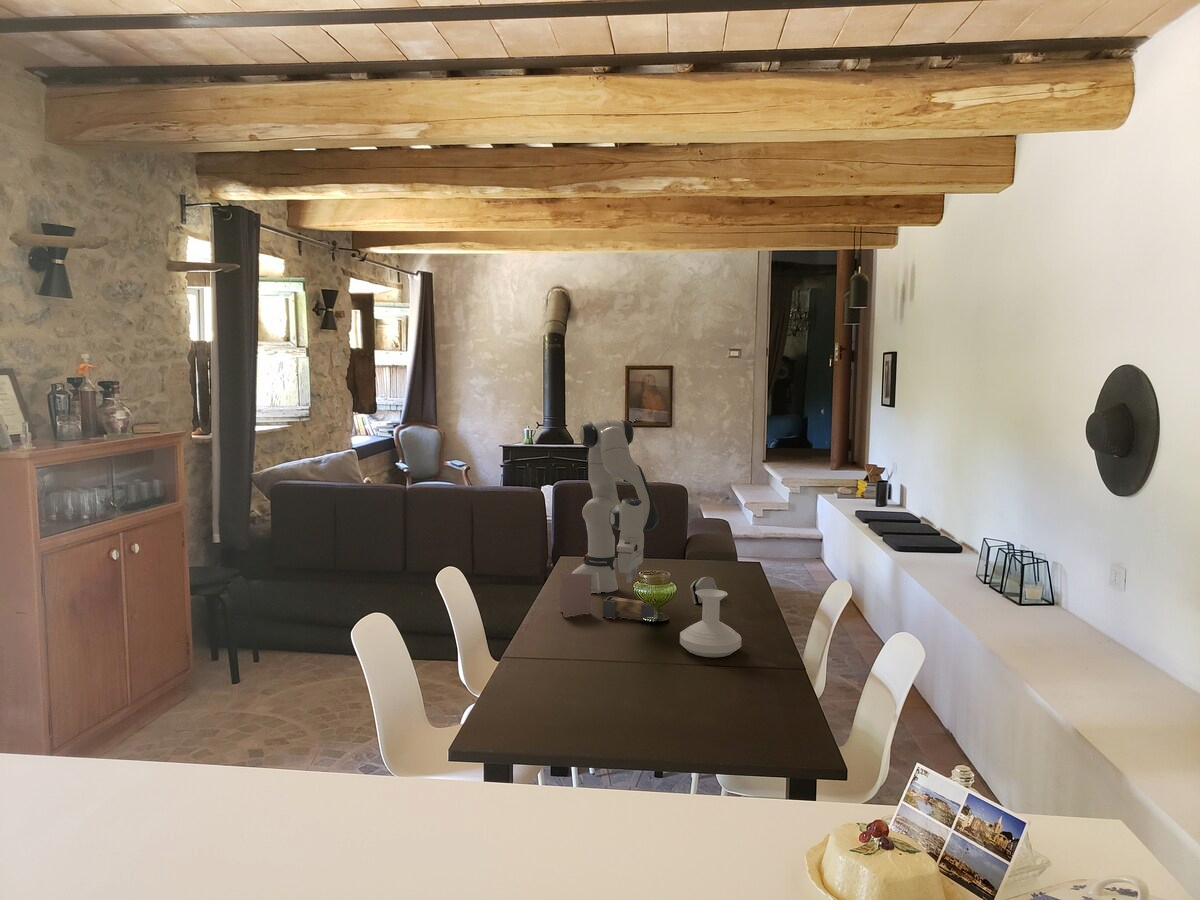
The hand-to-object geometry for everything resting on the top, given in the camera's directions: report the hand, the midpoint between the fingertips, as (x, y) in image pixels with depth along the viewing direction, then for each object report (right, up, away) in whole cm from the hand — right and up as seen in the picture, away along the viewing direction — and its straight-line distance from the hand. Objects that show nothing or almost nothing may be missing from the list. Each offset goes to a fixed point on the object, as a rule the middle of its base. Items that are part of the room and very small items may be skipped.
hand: (631, 580), depth 300 cm
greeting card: (-21, -14, +4) cm, 25 cm away
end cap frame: (0, -14, +1) cm, 14 cm away
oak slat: (0, -12, +1) cm, 12 cm away
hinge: (+31, -13, +28) cm, 43 cm away
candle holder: (+24, -18, -34) cm, 46 cm away
